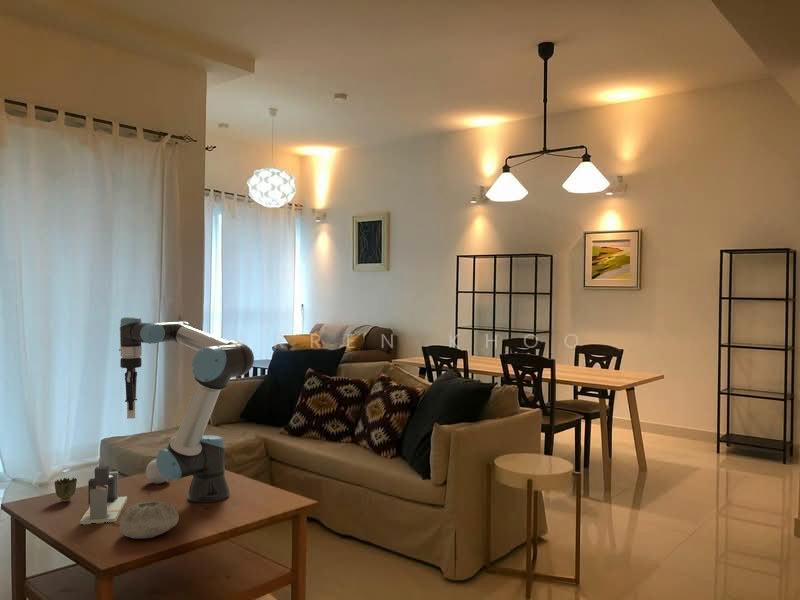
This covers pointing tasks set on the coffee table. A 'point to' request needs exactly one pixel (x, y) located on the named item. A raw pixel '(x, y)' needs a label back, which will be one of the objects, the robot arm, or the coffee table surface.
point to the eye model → (154, 473)
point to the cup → (65, 489)
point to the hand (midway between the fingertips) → (131, 418)
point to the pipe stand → (103, 504)
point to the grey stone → (148, 519)
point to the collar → (103, 483)
